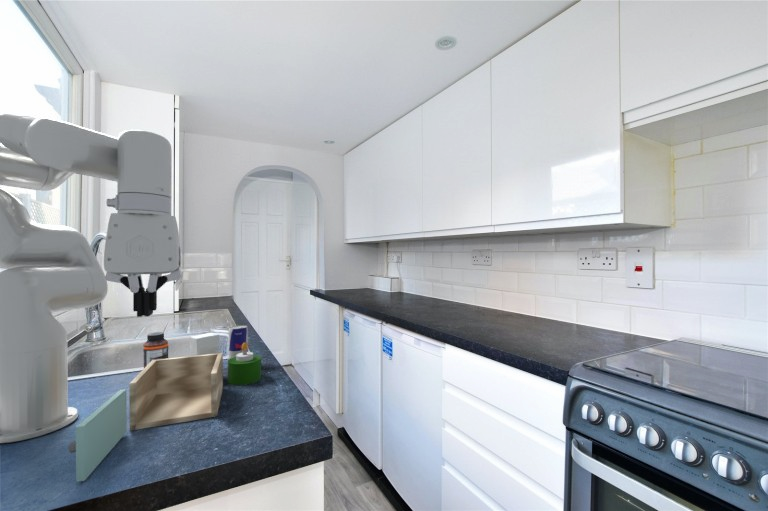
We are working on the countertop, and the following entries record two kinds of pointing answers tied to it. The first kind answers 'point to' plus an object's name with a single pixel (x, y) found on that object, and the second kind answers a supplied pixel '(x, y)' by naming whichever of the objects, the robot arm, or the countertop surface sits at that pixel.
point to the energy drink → (237, 339)
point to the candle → (244, 368)
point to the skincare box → (204, 344)
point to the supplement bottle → (155, 347)
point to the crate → (176, 391)
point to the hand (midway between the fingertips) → (145, 315)
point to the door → (99, 434)
